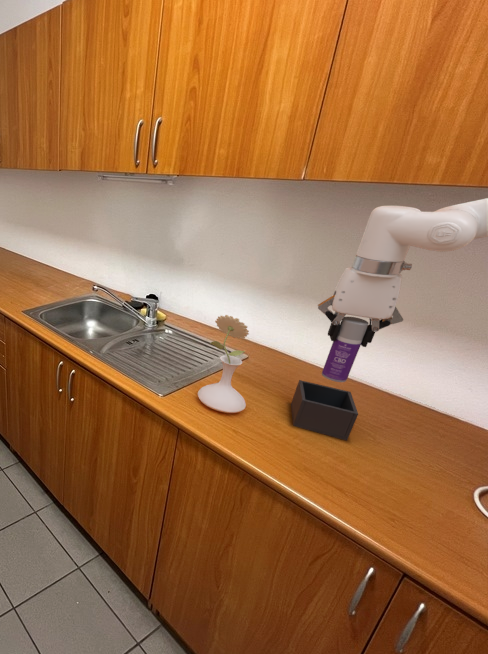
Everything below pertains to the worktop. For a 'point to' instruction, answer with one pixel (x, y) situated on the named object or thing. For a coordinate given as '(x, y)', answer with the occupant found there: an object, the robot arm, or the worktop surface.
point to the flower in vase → (226, 371)
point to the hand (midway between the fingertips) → (347, 340)
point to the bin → (323, 409)
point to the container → (344, 349)
